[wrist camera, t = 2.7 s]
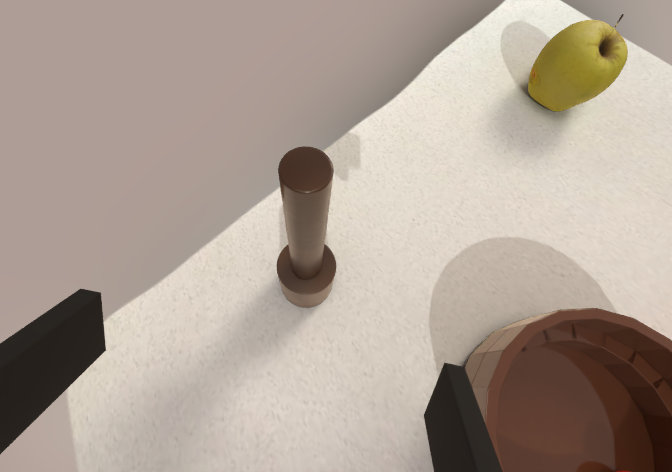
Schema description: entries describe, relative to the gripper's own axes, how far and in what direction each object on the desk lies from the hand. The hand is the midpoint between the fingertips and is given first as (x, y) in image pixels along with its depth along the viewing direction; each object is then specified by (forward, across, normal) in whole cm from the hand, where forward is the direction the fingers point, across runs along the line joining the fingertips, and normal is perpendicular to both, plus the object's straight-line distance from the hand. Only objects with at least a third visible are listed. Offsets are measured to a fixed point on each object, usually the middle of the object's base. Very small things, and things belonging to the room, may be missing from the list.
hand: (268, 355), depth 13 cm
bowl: (+10, +22, -12) cm, 27 cm away
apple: (+36, +23, +13) cm, 44 cm away
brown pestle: (+16, 0, -6) cm, 17 cm away
